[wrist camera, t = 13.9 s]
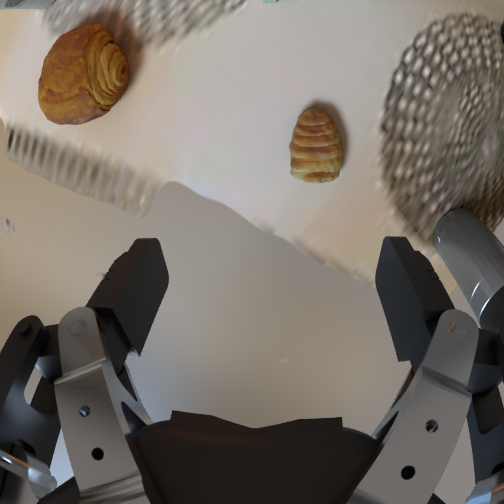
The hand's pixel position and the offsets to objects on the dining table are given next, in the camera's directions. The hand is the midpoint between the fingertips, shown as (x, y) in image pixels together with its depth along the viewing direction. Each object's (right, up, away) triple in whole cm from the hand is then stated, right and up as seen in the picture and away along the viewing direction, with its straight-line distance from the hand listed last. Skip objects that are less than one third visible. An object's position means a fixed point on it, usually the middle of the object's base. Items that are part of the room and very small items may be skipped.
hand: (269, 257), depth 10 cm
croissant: (-24, +25, +19) cm, 40 cm away
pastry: (+7, +14, +25) cm, 29 cm away
